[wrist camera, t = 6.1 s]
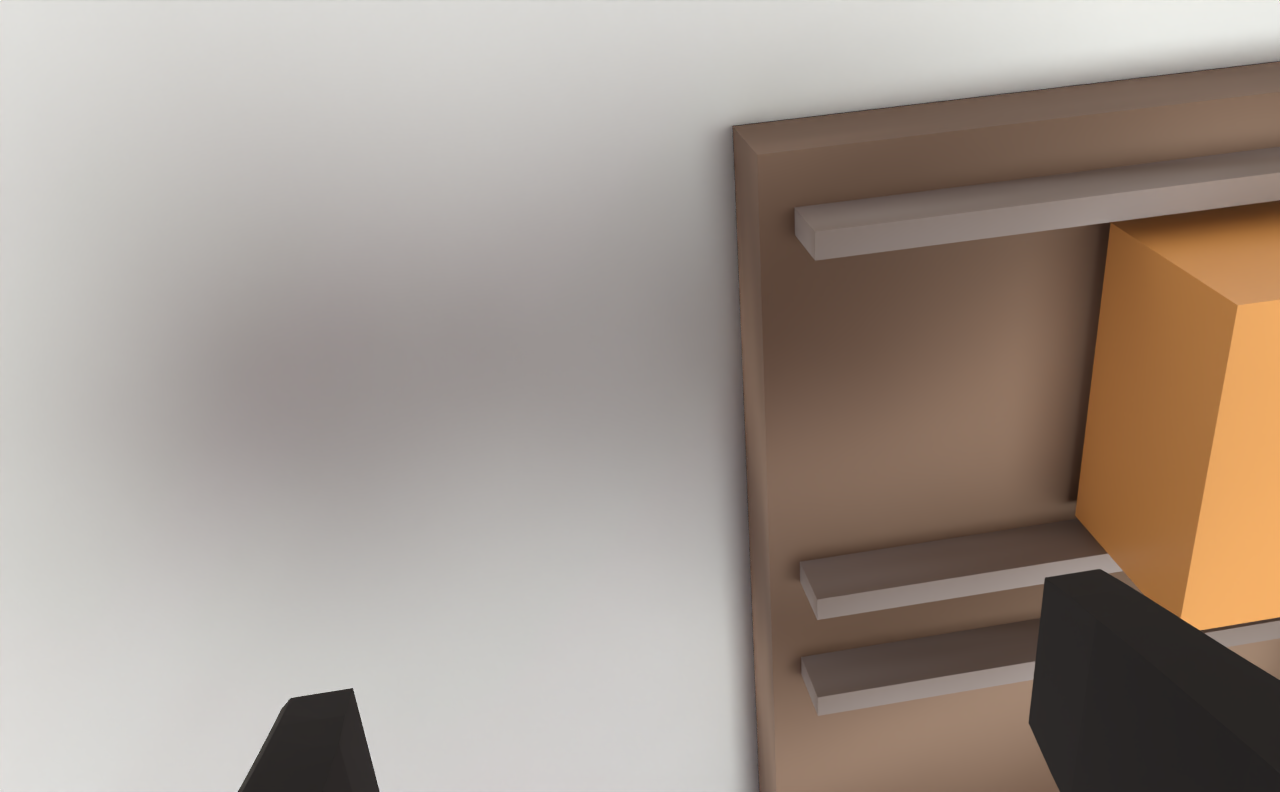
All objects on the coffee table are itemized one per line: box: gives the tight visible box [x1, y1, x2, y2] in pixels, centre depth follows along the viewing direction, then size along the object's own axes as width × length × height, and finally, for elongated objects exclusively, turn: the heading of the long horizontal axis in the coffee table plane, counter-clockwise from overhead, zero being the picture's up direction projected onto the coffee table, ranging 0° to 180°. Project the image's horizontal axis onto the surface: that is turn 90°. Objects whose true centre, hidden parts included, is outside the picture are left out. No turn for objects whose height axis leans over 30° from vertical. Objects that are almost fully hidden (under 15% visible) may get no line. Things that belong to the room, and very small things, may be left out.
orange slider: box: [1075, 201, 1280, 630], centre depth 16 cm, size 5×4×3 cm
